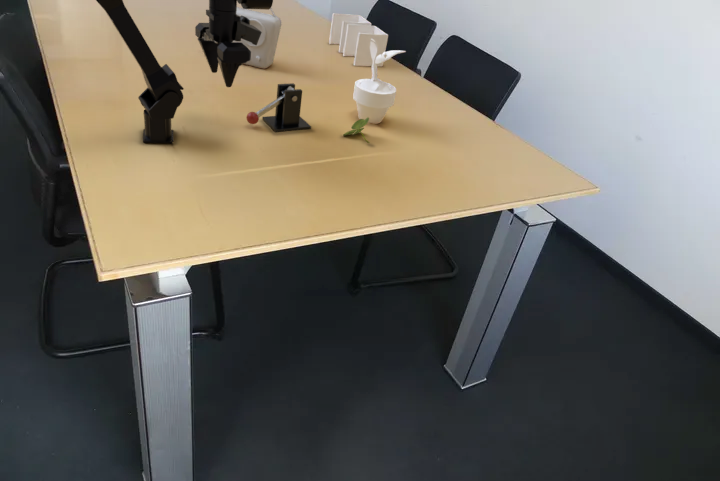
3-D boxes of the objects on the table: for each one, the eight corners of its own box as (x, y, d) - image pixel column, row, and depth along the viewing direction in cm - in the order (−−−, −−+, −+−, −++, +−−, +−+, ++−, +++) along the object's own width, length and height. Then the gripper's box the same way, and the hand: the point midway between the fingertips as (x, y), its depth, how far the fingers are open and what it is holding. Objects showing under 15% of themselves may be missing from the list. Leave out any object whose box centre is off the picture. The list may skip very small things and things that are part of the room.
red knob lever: (252, 128, 138) (247, 119, 136) (247, 123, 140) (242, 114, 138) (298, 98, 141) (294, 88, 138) (293, 93, 143) (289, 84, 140)
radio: (205, 57, 179) (205, -28, 165) (216, 50, 186) (217, -32, 172) (269, 72, 176) (275, -13, 163) (279, 65, 183) (285, -17, 169)
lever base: (275, 134, 140) (278, 94, 134) (262, 121, 145) (264, 82, 139) (310, 130, 145) (315, 92, 139) (297, 118, 150) (300, 80, 145)
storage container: (382, 66, 201) (388, 35, 195) (354, 65, 196) (359, 33, 190) (355, 44, 219) (359, 15, 213) (328, 43, 214) (332, 13, 208)
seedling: (358, 158, 147) (344, 138, 148) (383, 141, 147) (370, 121, 148) (355, 152, 140) (341, 130, 141) (382, 134, 140) (367, 113, 141)
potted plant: (355, 128, 151) (371, 32, 137) (344, 110, 160) (358, 19, 146) (399, 129, 155) (418, 37, 141) (386, 112, 164) (403, 24, 150)
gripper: (275, 21, 118) (270, 93, 127) (242, -2, 130) (239, 64, 139) (224, 20, 112) (223, 95, 121) (194, -4, 125) (194, 65, 133)
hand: (221, 79), depth 129 cm, fingers open, 9 cm apart
